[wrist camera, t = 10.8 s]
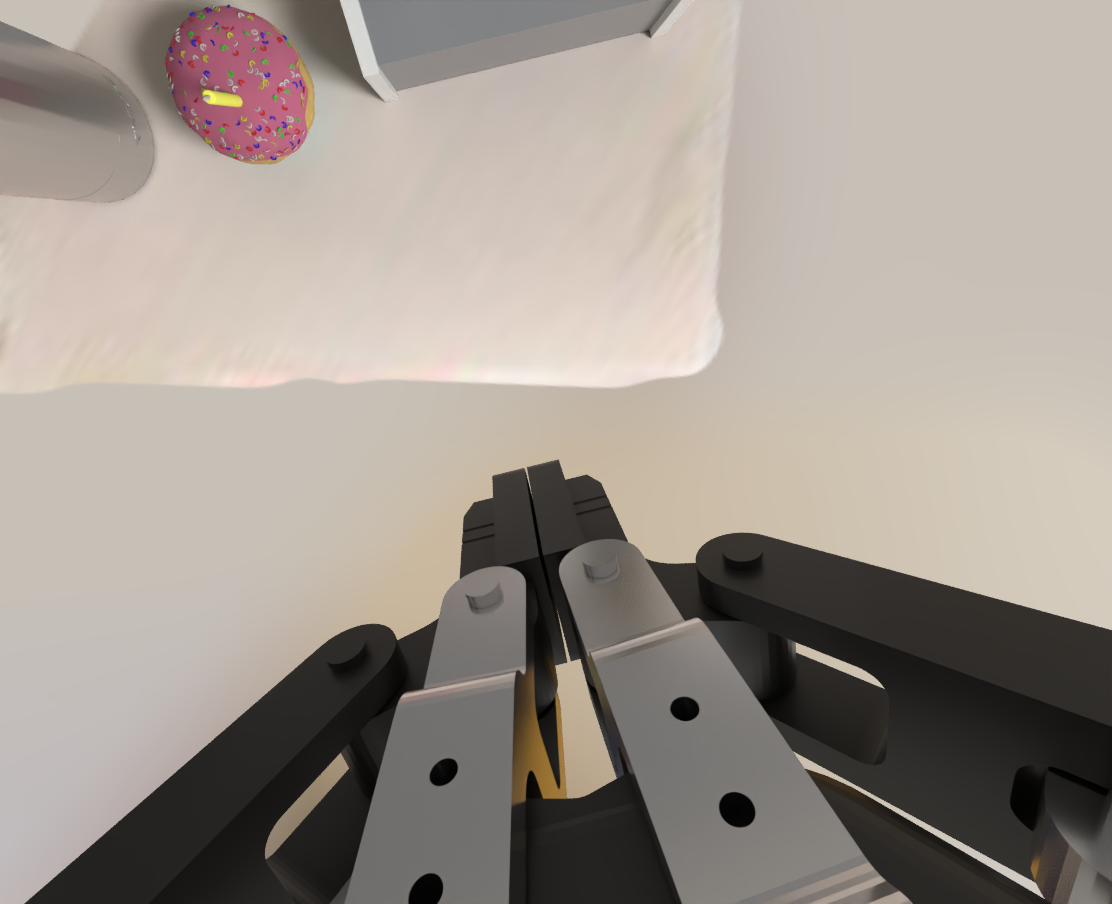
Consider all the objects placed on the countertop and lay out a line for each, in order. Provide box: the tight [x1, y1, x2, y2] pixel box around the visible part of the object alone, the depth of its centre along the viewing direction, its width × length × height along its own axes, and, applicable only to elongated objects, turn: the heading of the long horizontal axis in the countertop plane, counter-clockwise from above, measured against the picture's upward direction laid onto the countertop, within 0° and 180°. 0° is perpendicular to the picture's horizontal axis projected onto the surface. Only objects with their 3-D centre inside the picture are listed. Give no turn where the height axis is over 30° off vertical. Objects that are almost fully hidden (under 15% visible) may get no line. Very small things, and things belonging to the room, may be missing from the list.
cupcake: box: [166, 5, 315, 164], centre depth 33 cm, size 9×8×12 cm
